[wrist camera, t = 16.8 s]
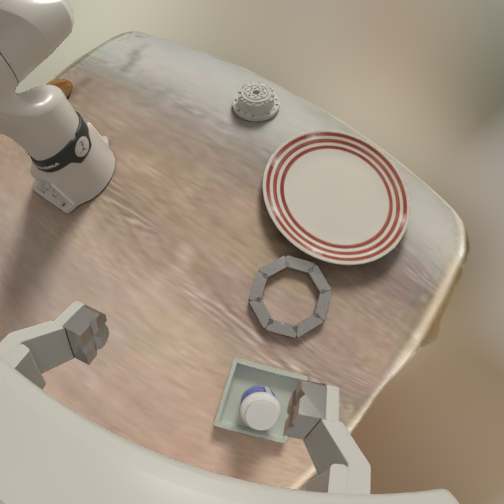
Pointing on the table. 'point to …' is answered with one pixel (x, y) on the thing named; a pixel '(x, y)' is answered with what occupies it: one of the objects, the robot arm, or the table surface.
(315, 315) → the collar
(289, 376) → the bin
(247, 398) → the pill bottle
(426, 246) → the table surface
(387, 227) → the dinner plate
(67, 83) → the bread roll
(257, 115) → the mechanical component
